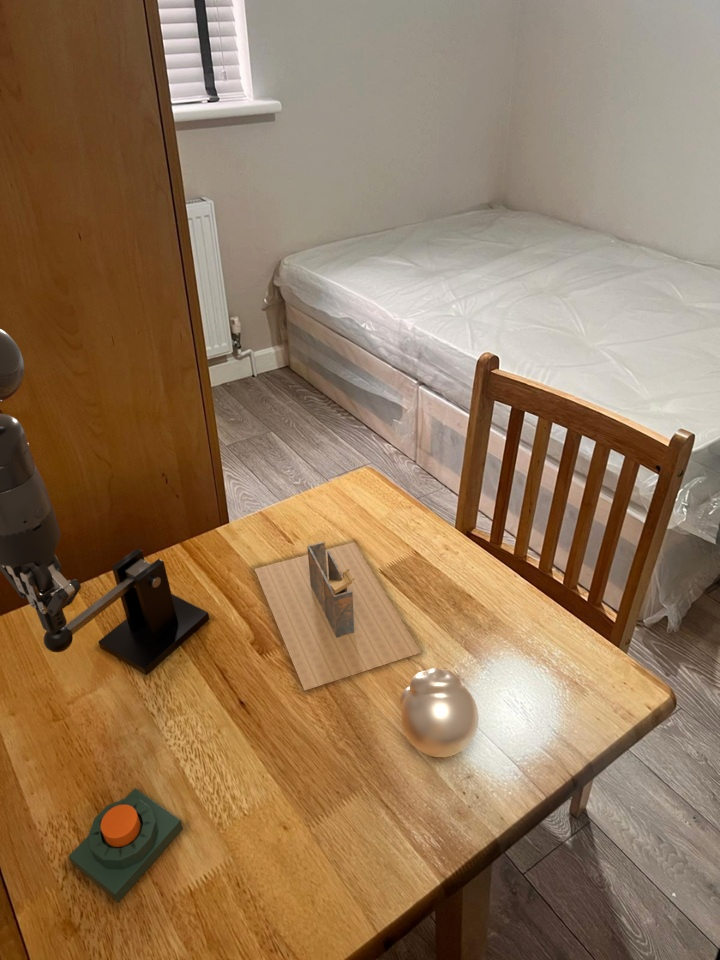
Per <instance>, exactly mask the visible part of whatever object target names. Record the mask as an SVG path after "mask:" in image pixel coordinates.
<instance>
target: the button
mask: <svg viewBox="0 0 720 960" xmlns="http://www.w3.org/2000/svg"><path fill="white" fill-rule="evenodd" d="M101 831H102V833H103V836H104V838H105V840H106V842H107V843H108V844H109V845H110V846H113V847H123V846H126V845H128V844H129V843H131V842H132V841H133V840H134V839H135V838H136V837H137V835H138V833H139V831H140V821H139V818H138V815H137V812H136V810H135V809H134V808H133V807H132V806H129V805H118V806H115V807H113V808H111V809H110V810H109V811H108V812H107V813H106V814H105V815H104V817H103V819H102V821H101Z"/></svg>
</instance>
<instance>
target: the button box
mask: <svg viewBox="0 0 720 960" xmlns="http://www.w3.org/2000/svg"><path fill="white" fill-rule="evenodd" d="M118 805H129V806H132V807H133V808H134V809H135V810H136V812H137V815H138V818H139V821H140V831H139V833H138V835H137V837H136V838H135V839H134V840H133V841H132V842H131V843H129V844H128V845H126V846H123V847H113V846H110V845H109V844H108V843H107V842H106V840H105V838H104V836H103V833H102V831H101V821H102V819H103V817H104V815H105V814H106V813H107V812H108V811H109V810H110V809H111V808H113V807H115V806H118ZM183 830H184V828H183V823H182V820H181V819H180V818H178V817H177V816H175V815H174V814H172V813H171V812H170V811H169V810H167V809H165V808H164V807H163V806H161V805H160V804H159V803H157V802H156V801H155V800H153V799H152V798H150V797H149V796H147V795H145V793H143V792H142V791H140V790H139V789H138V788H136V787H134V788H133V789H132V790H131V791H130V792H129V793H128V794H127V795H126V796H125V797H124V798H122V799H120V800H117V801H115V802H112V803H110V804H108V805H106V806H105V807H104V808H103V809H102V810H101V811H100V812H99V813H98V814H97V815H96V816H95V817H94V819H93V821H92V823H91V827H90V829H89V832H88V835H87V837H85V838H84V839H83V840H82V841H81V843H79V844H78V846H77V847H76V848H74V849H73V851H72V852H70V854H69V855H68V858H69V860H70V863H71V865H72V866H73V867H74V868H76V869H77V870H78V872H81V874H83V875H84V876H85V877H86V878H87V879H89V880H90V881H91V882H93V883H94V884H95V885H96V886H97V887H99V888H100V889H101V890H102V891H103V892H105V894H107V895H109V897H110V898H112V899H113V900H114V901H116V903H120V901H122V900H123V898H124V897H125V896H126V895H127V893H128V892H129V891H130V890H131V889H132V888H133V887H134V886H135V885H136V883H138V881H139V880H140V879H141V878H142V876H144V874H145V873H146V872H147V871H148V869H150V868H151V866H152V865H153V864H154V863H155V862H156V861H157V860H158V858H159V857H160V856H161V855H162V854H163V853H164V851H166V849H167V848H168V847H169V846H170V844H171V843H172V842H173V841H175V839H176V838H177V837H178V835H179V834H180V833H181V832H182V831H183Z"/></svg>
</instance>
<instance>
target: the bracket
mask: <svg viewBox="0 0 720 960" xmlns="http://www.w3.org/2000/svg"><path fill="white" fill-rule="evenodd" d="M140 559H143V560H145V556H144V552H143V550H142V549H139V547H137V548H135V549H134V550H132V551H131V552H130V553H129V554H127V555H126V556H124V557H123V558H122V559H120V560H119V561H118V562H116V563H115V564H113V565H111V569H112V574H113V577H114V580H115V584H116V586H117V585H118V584H120V583H121V582H122V581H124V580H125V579H126V578H127V577H126V573H125V570H127V569H128V568H129V567H130V566H132V565H133V564H134V563H136V562H137V561H138V560H140ZM145 561H146V560H145ZM133 579H134V583H135V586H136V588H135V587H133V588H131V589H130V590H129V591H128V592H126V593H125V594H124V595H123V596H121V597H120V598H119V599H120V600H121V604H122V608H123V611H124V614H125V618H126V619H124V620H123V621H122V622H121V623H119V624H118V625H117V626H115V627H114V628H113V629H111V630H110V631H109V632H108V633H107V634H106V635H104V636H103V637H102V638H100V639H99V640H98V641H97V643H98V645H99V648H100V649H101V650H103V651H104V652H106V653H108V654H110V655H111V656H113V657H115V658H116V659H118V660H120V661H122V662H123V663H125V664H126V665H128V666H130V667H131V668H133V669H134V670H136V671H138V672H139V673H141V674H143V675H145V677H146V676H148V675H149V674H150V673H151V672H152V671H154V670H155V669H156V668H157V667H158V666H159V665H161V663H162V662H164V661H165V660H166V659H167V658H168V657H169V656H170V655H171V654H172V653H173V652H175V651H176V650H177V649H178V648H179V647H180V646H181V645H182V644H184V643H185V642H186V641H187V640H188V639H189V638H190V637H191V636H192V635H193V634H194V633H196V632H197V631H199V629H201V628H202V627H203V626H204V625H205V624H206V623H207V622H209V620H210V615H209V612H207V611H206V610H205V609H202V608H200V607H198V606H196V605H195V604H193V603H190V602H188V601H186V600H185V599H182V598H180V597H178V596H177V595H175V594H173V593H172V591H171V586H170V583H169V578H168V573H167V569H166V565H165V561H164V560H162V559H160V558H157V559H156V560H155V561H153V562H152V563H151V565H150V566H148V567H147V568H146V569H144V570H143V571H142V572H141V573H139V574H138V575H137V576H135V577H134V578H133Z"/></svg>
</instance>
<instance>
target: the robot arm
mask: <svg viewBox="0 0 720 960" xmlns="http://www.w3.org/2000/svg"><path fill="white" fill-rule="evenodd" d="M24 377H25V360H24V357H23V353H22V352H21V349H20V348H19V346H18V344H17V342H16V341H15V340H14V339H13V338H12V337H11V335H9V333H7V332H6V331H5V330H3V329H1V328H0V403H2V402H4V401H7V400H8V399H10V398H11V397H13V396H14V395H15V394H16V393H17V392H18V390H20V387H21V385H22V383H23V381H24ZM46 486H47V485H46V484H45V481H44V479H43V477H42V475H41V473H40V471H39V469H38V467H37V465H36V462H35V459H34V456H33V453H32V450H31V447H30V444H29V441H28V438H27V435H26V432H25V430H24V427H23V426H22V424H21V423H20V421H19V420H18V419H17V418H16V417H14V416H12V415H10V414H6V413H1V412H0V572H1V573H2V574H3V576H4V577H5V578H6V580H7V581H8V583H10V585H11V586H12V587H13V589H14V590H15V591H16V593H17V594H18V596H19V597H20V598H22V599H27V601H28V603H29V606H30V607H32V608H33V609H35V611H36V613H37V616H38V619H39V621H40V624H41V627H42V629H43V630H45V632H46V631H48V632H49V633H51V634H55V633H57V632H58V631H59V630H61V629H62V628H63V627H64V626H65V625H67V624H68V623H67V622H68V621H67V619H66V616H65V613H64V611H63V609H65V608H67V606H70V605H71V604H72V603H73V602H74V600H75V598H76V596H78V593H79V592H80V590H81V588H82V585H81V583H80V582H79V581H78V580H77V579H75V578H74V579H72V580H71V579H66V578H65V577H64V576H63V574H62V572H63V567H62V564H61V562H60V561H59V559H58V556H57V555H56V554H55V552H56V549H57V547H58V544H59V542H60V540H61V535H62V533H61V528H60V526H59V523H58V520H57V516H56V513H55V510H54V508H53V505H52V502H51V499H50V495H49V492H48V490H47V487H46Z"/></svg>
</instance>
